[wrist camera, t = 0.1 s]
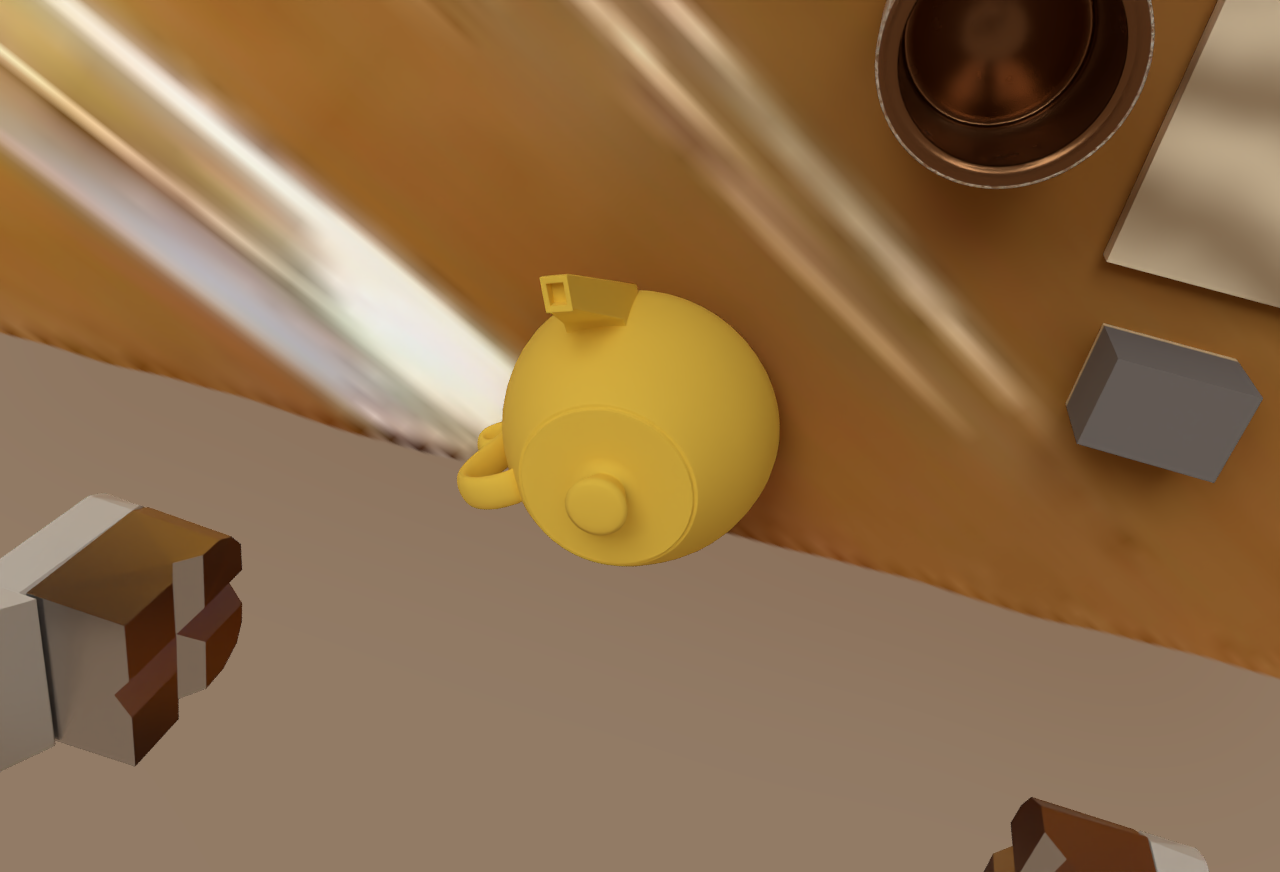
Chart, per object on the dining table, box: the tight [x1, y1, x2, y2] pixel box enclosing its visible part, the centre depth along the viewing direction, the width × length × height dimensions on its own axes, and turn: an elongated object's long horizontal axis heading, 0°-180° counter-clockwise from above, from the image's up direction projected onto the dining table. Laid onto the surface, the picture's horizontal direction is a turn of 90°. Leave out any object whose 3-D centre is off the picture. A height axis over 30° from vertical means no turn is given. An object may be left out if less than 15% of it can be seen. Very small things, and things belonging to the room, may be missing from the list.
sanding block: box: [1065, 323, 1263, 483], centre depth 53 cm, size 5×7×5 cm
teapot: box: [457, 274, 780, 566], centre depth 58 cm, size 20×19×13 cm
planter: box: [875, 0, 1155, 189], centre depth 45 cm, size 11×11×10 cm
